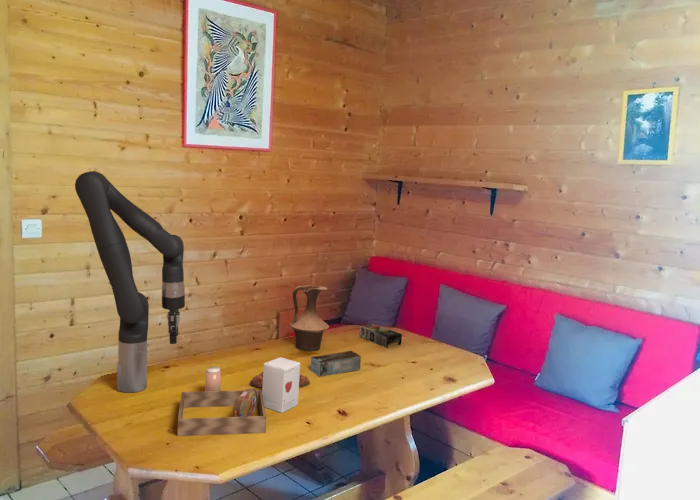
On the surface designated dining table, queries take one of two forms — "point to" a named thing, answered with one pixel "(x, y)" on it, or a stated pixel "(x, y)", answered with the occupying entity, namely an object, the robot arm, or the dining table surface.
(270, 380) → the supplement box
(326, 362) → the beverage carton
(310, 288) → the pitcher
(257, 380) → the pastry
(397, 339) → the dark slotted box
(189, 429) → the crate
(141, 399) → the dining table surface
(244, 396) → the tin
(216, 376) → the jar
